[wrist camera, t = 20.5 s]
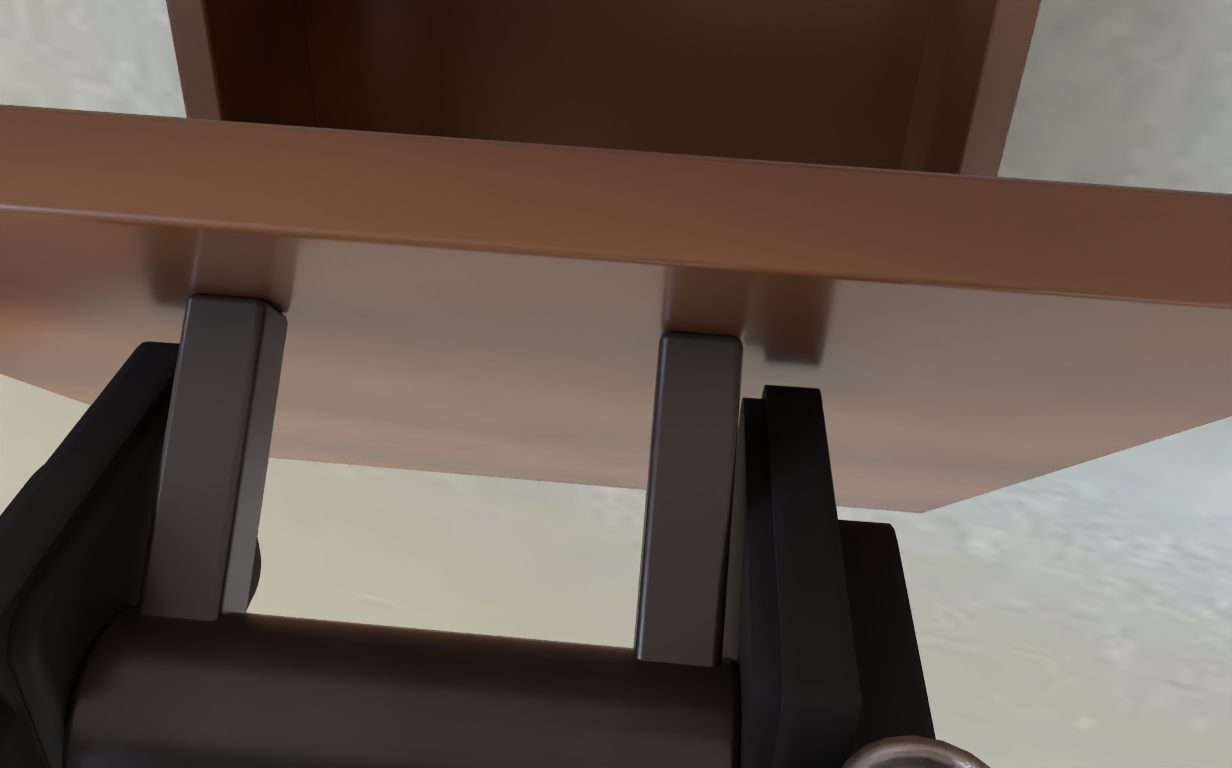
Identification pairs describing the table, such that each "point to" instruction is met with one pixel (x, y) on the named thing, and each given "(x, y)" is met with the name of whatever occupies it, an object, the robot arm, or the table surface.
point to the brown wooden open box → (626, 73)
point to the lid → (554, 391)
